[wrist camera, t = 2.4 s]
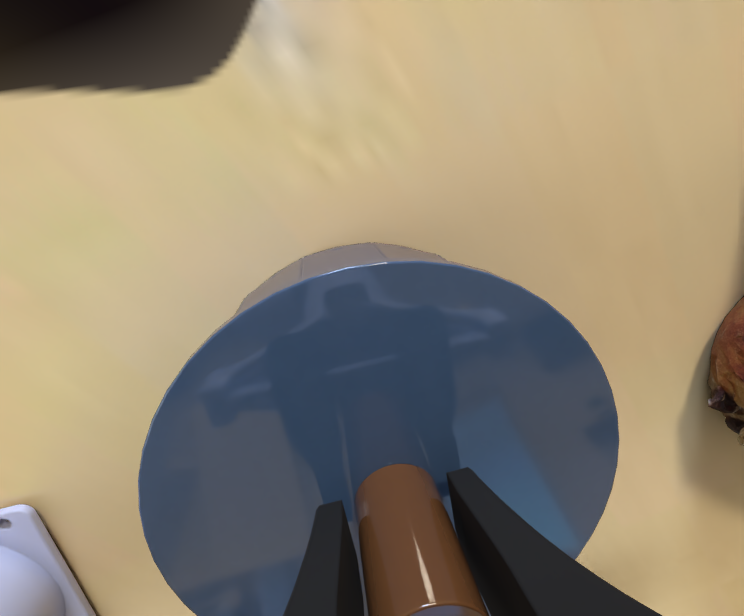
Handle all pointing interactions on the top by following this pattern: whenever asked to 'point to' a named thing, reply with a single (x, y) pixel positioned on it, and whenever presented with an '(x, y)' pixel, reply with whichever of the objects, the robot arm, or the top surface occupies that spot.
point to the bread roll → (729, 370)
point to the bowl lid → (373, 435)
